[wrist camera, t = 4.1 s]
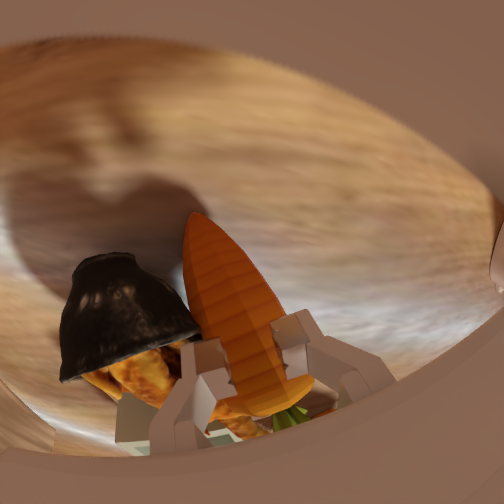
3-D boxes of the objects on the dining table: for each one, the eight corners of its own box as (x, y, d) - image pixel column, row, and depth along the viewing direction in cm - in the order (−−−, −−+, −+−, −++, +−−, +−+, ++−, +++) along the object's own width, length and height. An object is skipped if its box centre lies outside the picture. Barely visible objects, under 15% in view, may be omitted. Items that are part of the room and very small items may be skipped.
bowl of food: (5, 257, 8) (183, 587, 4) (219, 194, 14) (363, 492, 10) (59, 304, 16) (165, 516, 12) (190, 260, 22) (287, 458, 17)
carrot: (144, 206, 12) (279, 494, 9) (239, 175, 14) (366, 441, 10) (156, 244, 17) (256, 459, 13) (227, 218, 18) (324, 422, 15)
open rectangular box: (244, 325, 21) (268, 400, 15) (270, 408, 28) (288, 460, 21) (87, 361, 19) (73, 429, 13) (155, 432, 26) (158, 482, 20)
